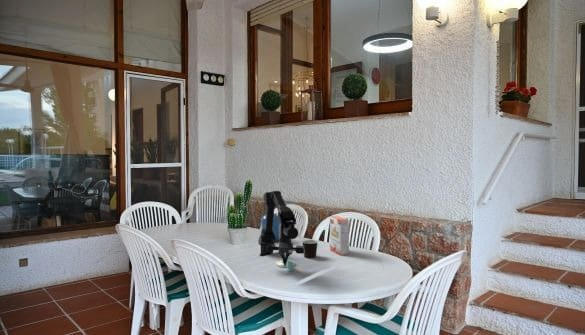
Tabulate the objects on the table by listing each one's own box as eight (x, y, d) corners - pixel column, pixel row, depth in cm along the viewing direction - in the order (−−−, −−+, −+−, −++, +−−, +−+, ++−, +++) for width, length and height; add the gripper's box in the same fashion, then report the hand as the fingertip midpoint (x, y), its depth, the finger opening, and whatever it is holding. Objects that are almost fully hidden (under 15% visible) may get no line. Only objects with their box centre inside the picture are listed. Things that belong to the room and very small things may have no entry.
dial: (274, 262, 202) (274, 255, 202) (292, 261, 205) (292, 254, 205) (281, 271, 187) (281, 264, 187) (301, 269, 190) (301, 262, 190)
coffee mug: (316, 261, 209) (316, 243, 208) (301, 260, 211) (301, 243, 210) (319, 256, 220) (319, 239, 220) (304, 255, 222) (304, 238, 222)
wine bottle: (260, 238, 267) (260, 195, 265) (279, 237, 268) (279, 195, 267) (261, 242, 253) (261, 198, 252) (281, 242, 254) (280, 197, 253)
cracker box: (329, 250, 234) (329, 216, 233) (338, 249, 236) (338, 215, 235) (340, 255, 221) (340, 220, 220) (349, 254, 223) (349, 219, 222)
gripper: (264, 237, 183) (263, 269, 184) (302, 239, 181) (302, 271, 182) (268, 233, 194) (267, 263, 195) (304, 234, 192) (304, 265, 193)
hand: (285, 265), depth 191 cm, fingers closed
